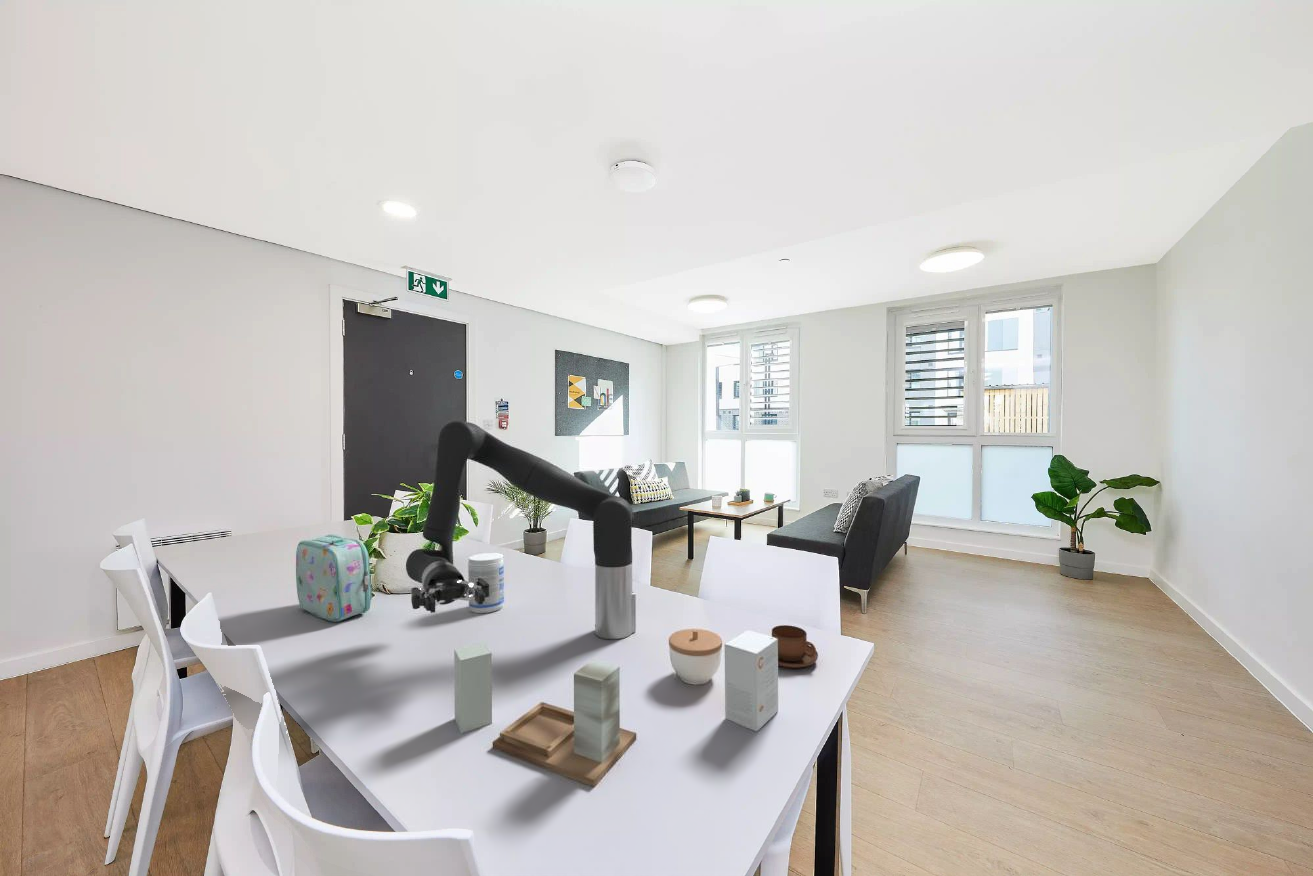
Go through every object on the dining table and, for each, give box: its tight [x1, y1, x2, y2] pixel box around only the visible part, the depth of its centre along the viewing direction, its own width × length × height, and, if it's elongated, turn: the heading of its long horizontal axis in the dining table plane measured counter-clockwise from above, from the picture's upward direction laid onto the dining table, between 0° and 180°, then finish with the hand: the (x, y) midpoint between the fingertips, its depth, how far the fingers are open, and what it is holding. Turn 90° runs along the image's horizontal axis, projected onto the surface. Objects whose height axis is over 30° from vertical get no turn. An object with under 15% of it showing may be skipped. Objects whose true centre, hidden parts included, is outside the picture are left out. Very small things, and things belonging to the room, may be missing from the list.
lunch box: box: [295, 533, 373, 623], centre depth 136 cm, size 27×10×21 cm, turn 58°
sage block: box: [453, 642, 493, 734], centre depth 84 cm, size 5×5×12 cm
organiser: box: [492, 659, 637, 788], centre depth 77 cm, size 12×19×13 cm, turn 63°
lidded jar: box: [668, 628, 723, 686], centre depth 99 cm, size 11×11×9 cm
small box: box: [724, 629, 779, 732], centre depth 85 cm, size 8×6×13 cm
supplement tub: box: [467, 552, 505, 614], centre depth 139 cm, size 10×10×15 cm
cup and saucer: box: [771, 624, 819, 669], centre depth 107 cm, size 12×12×6 cm
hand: (457, 603), depth 93 cm, fingers open, 8 cm apart
